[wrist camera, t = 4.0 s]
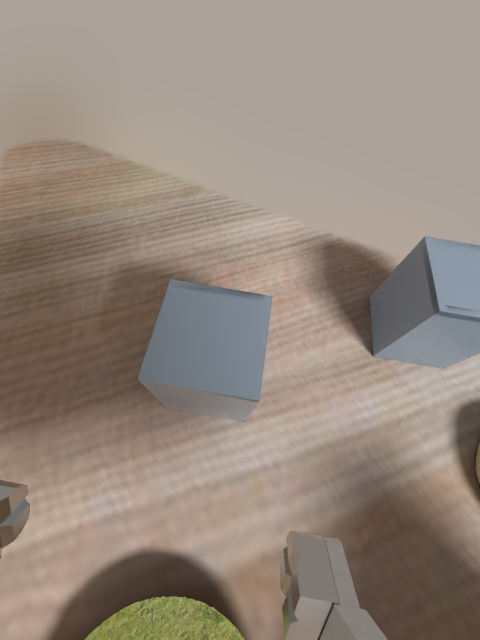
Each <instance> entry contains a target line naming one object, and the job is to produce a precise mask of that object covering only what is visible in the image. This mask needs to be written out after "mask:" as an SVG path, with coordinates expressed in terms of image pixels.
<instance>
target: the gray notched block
mask: <svg viewBox="0 0 480 640" xmlns="http://www.w3.org/2000/svg"><path fill="white" fill-rule="evenodd" d="M369 301H370V316H371V331H372V346H373V356H374V357H380V358H386V359H391V360H397V361H403V362H409V363H415V364H420V365H426V366H432V367H438V368H446V367H448V366H451V365H453V364H455V363H458V362H460V361H463V360H465V359H467V358H470V357H472V356H475V355H477V354H479V353H480V246H478V245H472V244H467V243H461V242H455V241H449V240H443V239H437V238H431V237H424V238H423V239H422V240H421V241H420V242H419V243H418V245H417V246H416V247H415V248H414V249H413V250H412V251H411V252H410V253H409V254H408V255H407V257H406V258H405V259H404V260H403V261H402V262H401V263H400V264H399V265H398V266H397V267H396V268H395V270H394V271H393V272H392V273H391V274H390V275H389V276H388V277H387V278H386V279H385V280H384V282H383V283H382V284H381V285H380V286H379V287H378V288H377V289H376V290H375V291H374V292H373V294H372V295H371V296H370V297H369Z"/></svg>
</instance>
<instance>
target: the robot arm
mask: <svg viewBox="0 0 480 640" xmlns="http://www.w3.org/2000/svg"><path fill="white" fill-rule="evenodd" d="M28 494H29V493H28V487H27V485H23V484H18V483H13V482H8V481H3V480H0V558H1V553H2V548H4V547H5V546H7V545H8V544H10V543H12V542H13V541H14V540H15V539H16V538H17V537H18V535H19V534H20V533H21V531H22V530H23V528H24V526H25V524H26V522H27V520H28V517H29V513H30V504H29V503H28V502H27V501H26V499H25V497H26V496H27V495H28ZM280 580H281V589H282V591H283V592H284V594H285V596H286V598H285V601H284V604H283V607H282V610H283V624H284V637H285V640H387V638H386V637H385V635H384V634H383V633H382V631H381V630H380V629H379V627H378V626H377V624H376V623H375V622H374V620H373V619H372V618H371V616H370V615H369V613H368V612H367V611H366V610H365V609H361V608H360V606H359V602H358V598H357V595H356V591H355V588H354V584H353V581H352V577H351V574H350V570H349V566H348V563H347V559H346V556H345V552H344V549H343V545H342V543H341V541H340V540H339V539H336V538H330V537H323V536H321V535H315V534H308V533H302V532H295V531H290V532H289V533H288V536H287V547H286V548H284V549H283V553H282V557H281V566H280Z"/></svg>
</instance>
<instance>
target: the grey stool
mask: <svg viewBox="0 0 480 640" xmlns="http://www.w3.org/2000/svg"><path fill="white" fill-rule="evenodd" d="M271 302H272V296H267V295H261V294H256V293H250V292H244V291H238V290H232V289H227V288H221V287H215V286H209V285H203V284H198V283H192V282H186V281H180V280H175V279H170V282H169V285H168V288H167V291H166V294H165V297H164V300H163V303H162V306H161V309H160V312H159V315H158V318H157V321H156V324H155V327H154V330H153V333H152V336H151V339H150V342H149V345H148V348H147V351H146V354H145V357H144V360H143V363H142V366H141V369H140V372H139V375H138V378H137V379H138V380H139V381H140V382H141V383H142V385H143V386H144V387H145V388H146V389H147V390H148V391H149V392H150V393H151V394H152V395H153V396H154V397H155V398H156V399H157V400H158V401H159V402H160V403H161V404H162V405H163V406H164V407H165V408H169V409H175V410H181V411H186V412H192V413H198V414H203V415H209V416H215V417H220V418H226V419H232V420H237V421H243V422H245V421H246V420H247V418H248V417H249V415H250V414H251V412H252V411H253V409H254V408H255V406H256V405H257V403H258V402H259V400H260V392H261V384H262V376H263V368H264V359H265V351H266V343H267V335H268V327H269V319H270V310H271Z"/></svg>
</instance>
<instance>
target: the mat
mask: <svg viewBox="0 0 480 640" xmlns="http://www.w3.org/2000/svg"><path fill="white" fill-rule="evenodd" d="M85 640H245V638H243V637H242V635H241V634H240V632H239V630H238V629H237V628H236V627H235V626H234V625H233V624H232V623H231V622H229V620H228V619H227V618H226V617H224V616H223V615H222V614H221V613H219V612H218V611H217V610H216V609H215V608H213V607H209V606H208V605H207V604H205V603H203V602H201V601H195V600H194V599H192V598H190V599H188V598H186V597H176V596H174V597H172V596H167V597H164V596H162V597H160V598H159V597H156V598H154V597H153V598H151V599H146V600H143V601H138V602H136V603H133V604H132V605H130V606H127V607H124V608H123V609H122V610H120V611H118V612H117V613H115V614H114V615H112V616H111V617H110V618H108V619H107V620H105V621H104V622H103V623H102V624H101V625H100V626H98V627H97V628H96V629H94V630H93V631H92V632H91V633H90V634H89V635H88V636H87V638H86V639H85Z"/></svg>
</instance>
